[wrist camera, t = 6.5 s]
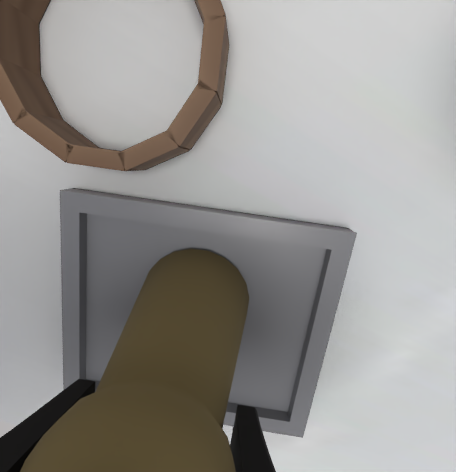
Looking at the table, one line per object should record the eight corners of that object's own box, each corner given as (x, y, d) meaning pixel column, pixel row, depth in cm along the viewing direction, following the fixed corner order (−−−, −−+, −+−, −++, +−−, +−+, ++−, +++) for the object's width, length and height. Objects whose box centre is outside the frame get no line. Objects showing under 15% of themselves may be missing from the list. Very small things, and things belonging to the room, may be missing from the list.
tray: (75, 383, 18) (63, 398, 17) (74, 188, 15) (60, 190, 14) (299, 420, 18) (302, 437, 17) (347, 228, 15) (356, 233, 14)
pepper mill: (263, 327, 16) (301, 677, 5) (169, 354, 17) (44, 695, 6) (226, 233, 14) (176, 467, 4) (124, 268, 15) (-142, 534, 5)
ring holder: (28, 153, 15) (-14, 150, 12) (18, -79, 12) (-39, -140, 10) (212, 180, 14) (206, 182, 12) (240, -52, 12) (239, -107, 10)
